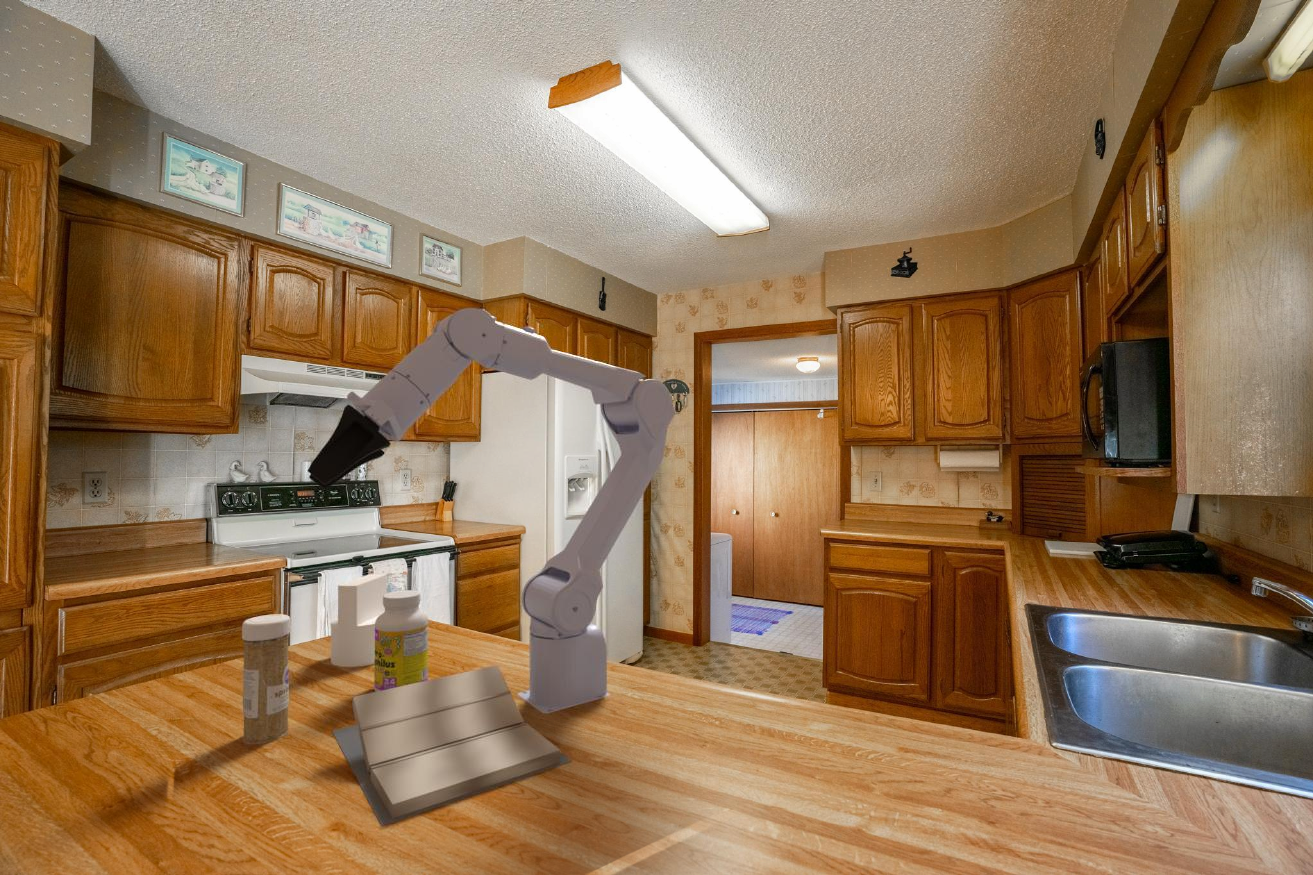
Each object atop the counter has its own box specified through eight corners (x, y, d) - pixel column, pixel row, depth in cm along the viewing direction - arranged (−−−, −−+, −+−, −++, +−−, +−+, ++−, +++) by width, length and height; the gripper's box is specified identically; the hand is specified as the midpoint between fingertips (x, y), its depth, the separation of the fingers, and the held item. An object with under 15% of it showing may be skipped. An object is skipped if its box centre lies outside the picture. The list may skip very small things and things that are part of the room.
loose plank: (495, 672, 76) (497, 664, 76) (521, 728, 70) (524, 720, 70) (352, 704, 67) (353, 696, 66) (368, 773, 61) (369, 764, 60)
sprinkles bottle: (290, 742, 69) (291, 619, 69) (241, 753, 66) (242, 625, 67) (288, 727, 73) (289, 610, 73) (241, 737, 70) (242, 616, 71)
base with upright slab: (352, 647, 103) (352, 573, 103) (405, 648, 102) (405, 574, 102) (317, 666, 94) (318, 585, 94) (374, 667, 93) (375, 586, 93)
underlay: (486, 697, 81) (486, 692, 81) (571, 766, 63) (571, 760, 63) (331, 736, 70) (331, 730, 70) (381, 833, 52) (381, 825, 52)
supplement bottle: (365, 691, 84) (365, 594, 84) (412, 677, 89) (412, 586, 89) (389, 704, 79) (389, 602, 80) (437, 689, 84) (437, 592, 85)
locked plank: (525, 733, 69) (525, 721, 69) (560, 761, 63) (560, 749, 63) (370, 779, 60) (370, 766, 60) (392, 818, 53) (392, 803, 53)
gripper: (376, 379, 76) (287, 462, 70) (387, 347, 63) (279, 445, 58) (422, 418, 78) (339, 503, 72) (441, 395, 65) (342, 495, 59)
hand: (316, 480), depth 65 cm, fingers open, 7 cm apart
